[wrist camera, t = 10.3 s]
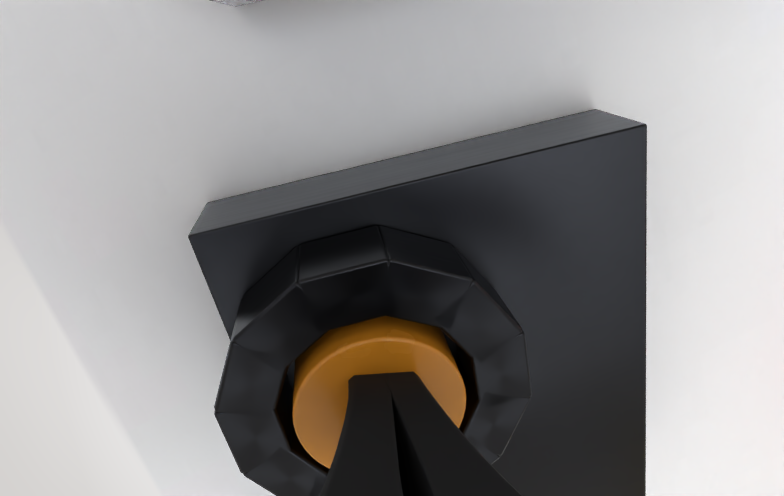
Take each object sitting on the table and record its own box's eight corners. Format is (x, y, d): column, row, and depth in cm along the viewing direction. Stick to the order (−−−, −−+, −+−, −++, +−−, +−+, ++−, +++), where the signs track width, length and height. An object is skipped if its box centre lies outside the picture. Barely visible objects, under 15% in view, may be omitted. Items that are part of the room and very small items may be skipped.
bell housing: (322, 530, 18) (326, 661, 14) (196, 204, 13) (150, 277, 9) (609, 451, 18) (683, 559, 14) (596, 108, 13) (706, 140, 9)
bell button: (317, 438, 13) (318, 497, 11) (275, 317, 11) (268, 365, 10) (457, 401, 13) (478, 453, 11) (433, 277, 12) (453, 318, 10)
